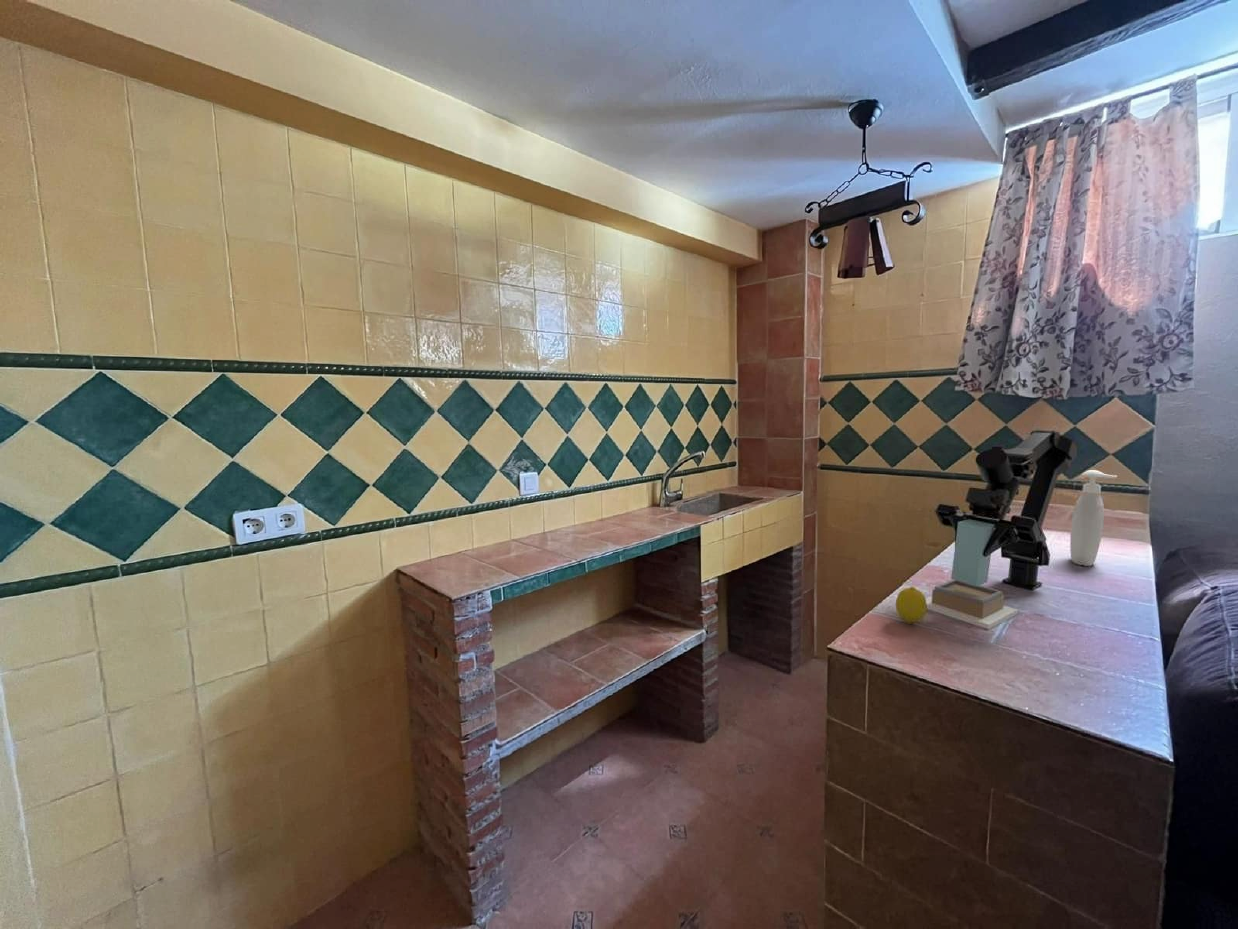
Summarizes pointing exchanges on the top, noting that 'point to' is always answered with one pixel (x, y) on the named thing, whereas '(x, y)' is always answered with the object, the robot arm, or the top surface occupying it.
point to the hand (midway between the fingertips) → (969, 552)
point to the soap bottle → (1088, 521)
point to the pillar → (972, 552)
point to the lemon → (911, 605)
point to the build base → (974, 619)
